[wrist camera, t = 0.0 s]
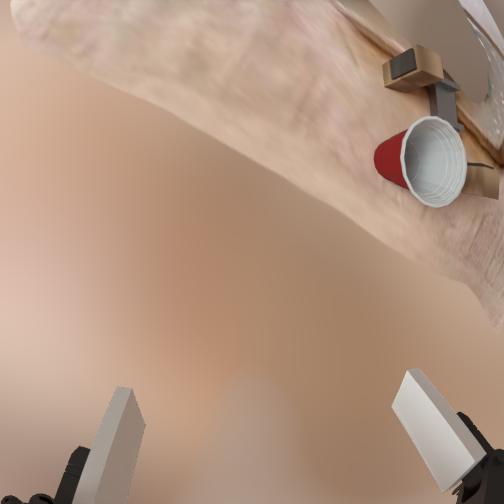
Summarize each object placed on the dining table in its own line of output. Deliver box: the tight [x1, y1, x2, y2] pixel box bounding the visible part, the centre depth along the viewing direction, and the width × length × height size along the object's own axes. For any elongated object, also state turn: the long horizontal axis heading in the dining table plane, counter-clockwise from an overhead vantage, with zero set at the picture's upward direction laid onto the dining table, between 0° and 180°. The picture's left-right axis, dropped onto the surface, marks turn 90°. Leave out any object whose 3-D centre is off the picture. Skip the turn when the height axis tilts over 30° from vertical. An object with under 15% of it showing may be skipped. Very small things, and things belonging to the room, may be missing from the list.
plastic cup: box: [374, 116, 467, 208], centre depth 30 cm, size 11×11×12 cm
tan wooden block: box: [382, 45, 444, 93], centre depth 27 cm, size 4×4×10 cm
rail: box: [428, 78, 464, 133], centre depth 33 cm, size 20×5×4 cm, turn 179°
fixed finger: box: [460, 163, 500, 200], centre depth 30 cm, size 4×4×10 cm
